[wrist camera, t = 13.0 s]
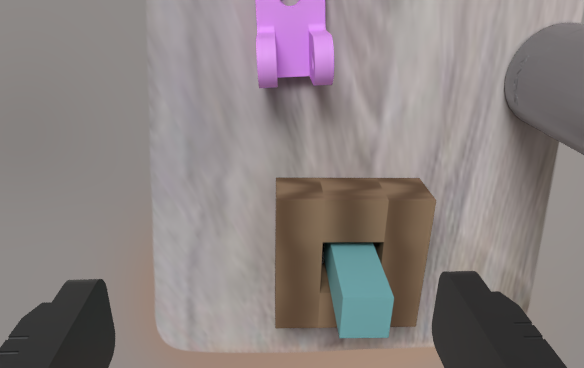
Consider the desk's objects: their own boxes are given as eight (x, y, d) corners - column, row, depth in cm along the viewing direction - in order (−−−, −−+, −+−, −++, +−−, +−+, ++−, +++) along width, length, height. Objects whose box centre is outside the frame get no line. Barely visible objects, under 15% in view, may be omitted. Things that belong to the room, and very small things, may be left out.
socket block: (419, 178, 45) (436, 200, 40) (402, 295, 50) (415, 326, 46) (276, 177, 44) (276, 200, 39) (275, 296, 50) (275, 328, 45)
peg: (365, 223, 47) (394, 297, 36) (361, 256, 48) (388, 337, 37) (325, 223, 46) (342, 297, 35) (323, 256, 48) (339, 338, 37)
